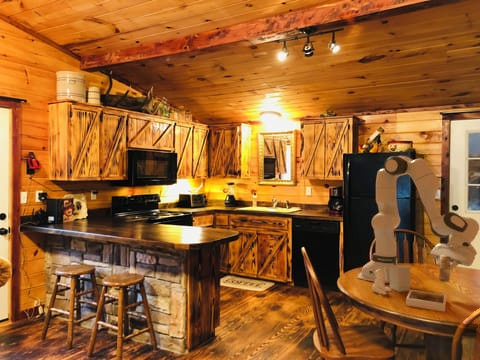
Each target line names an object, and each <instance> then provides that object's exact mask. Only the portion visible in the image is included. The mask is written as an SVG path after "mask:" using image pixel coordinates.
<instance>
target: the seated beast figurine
mask: <svg viewBox="0 0 480 360" xmlns="http://www.w3.org/2000/svg"><path fill="white" fill-rule="evenodd" d="M374 273H375V275H376V277H377V278H376V279H375V282H373V284H372V285H371V290H372V291H373V292H374V293H375V294H378V295H380V294H381V295H387V292H392V289H391V288H390V287H388V286H386V285H385V284H386V283H384V280H383V279H384V274H383V272H382V269H379V270H376V271H374Z"/></svg>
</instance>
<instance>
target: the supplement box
mask: <svg viewBox="0 0 480 360" xmlns="http://www.w3.org/2000/svg"><path fill="white" fill-rule="evenodd" d="M389 288H390V289H391V290H394V291H396V292H399V293H400V292H409V291H410V290H411V267H409V266H405V265H402V264H397V265H392V266H390V283H389Z"/></svg>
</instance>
